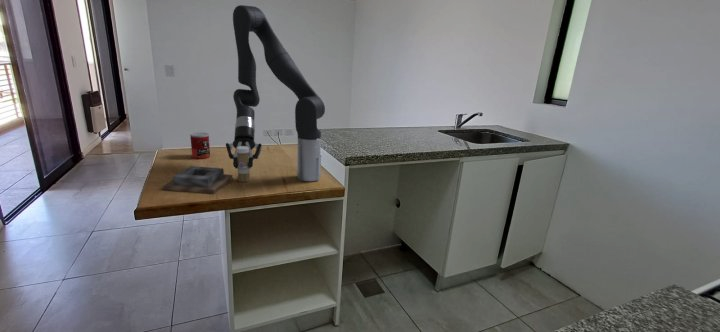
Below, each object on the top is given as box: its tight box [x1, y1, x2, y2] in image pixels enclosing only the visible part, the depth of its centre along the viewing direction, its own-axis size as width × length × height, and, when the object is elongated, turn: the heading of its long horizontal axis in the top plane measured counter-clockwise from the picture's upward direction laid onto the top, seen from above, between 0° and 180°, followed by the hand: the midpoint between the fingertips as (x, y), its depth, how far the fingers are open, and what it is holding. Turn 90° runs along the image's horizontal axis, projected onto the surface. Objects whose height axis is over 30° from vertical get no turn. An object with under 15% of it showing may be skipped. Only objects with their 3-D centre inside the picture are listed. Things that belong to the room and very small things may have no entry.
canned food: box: [189, 131, 211, 160], centre depth 155 cm, size 8×8×11 cm
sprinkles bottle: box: [237, 146, 251, 183], centre depth 129 cm, size 5×5×13 cm
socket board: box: [162, 165, 234, 194], centre depth 124 cm, size 18×16×4 cm
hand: (242, 167), depth 128 cm, fingers closed on sprinkles bottle, 4 cm apart
